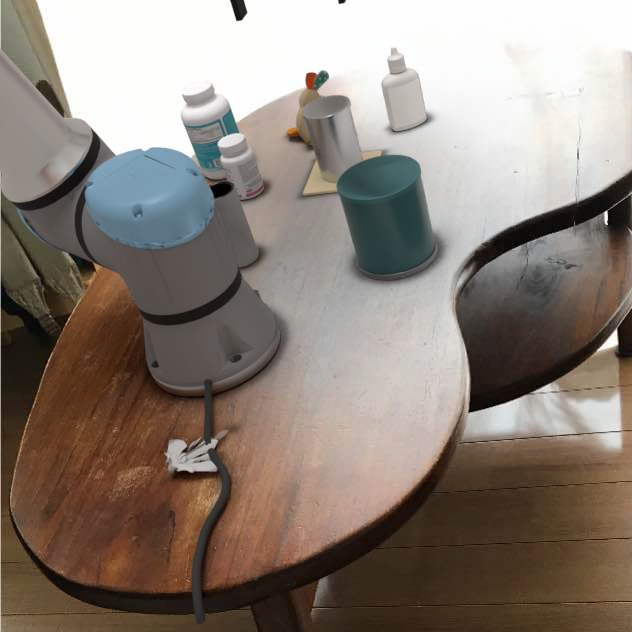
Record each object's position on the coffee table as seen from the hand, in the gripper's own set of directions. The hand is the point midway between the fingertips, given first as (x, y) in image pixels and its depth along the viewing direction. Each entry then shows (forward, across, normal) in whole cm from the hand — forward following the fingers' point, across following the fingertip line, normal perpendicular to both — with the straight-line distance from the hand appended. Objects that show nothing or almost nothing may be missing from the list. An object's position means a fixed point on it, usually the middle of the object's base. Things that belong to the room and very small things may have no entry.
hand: (292, 8), depth 110 cm
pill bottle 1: (+24, +19, -7) cm, 32 cm away
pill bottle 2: (+24, +13, +1) cm, 28 cm away
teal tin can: (+24, -12, +21) cm, 34 cm away
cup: (+24, -1, -1) cm, 24 cm away
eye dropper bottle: (+24, -9, -14) cm, 29 cm away
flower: (+25, +4, +53) cm, 59 cm away
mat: (+24, -1, -1) cm, 24 cm away
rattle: (+24, +6, -14) cm, 28 cm away
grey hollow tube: (+24, +9, +18) cm, 32 cm away
